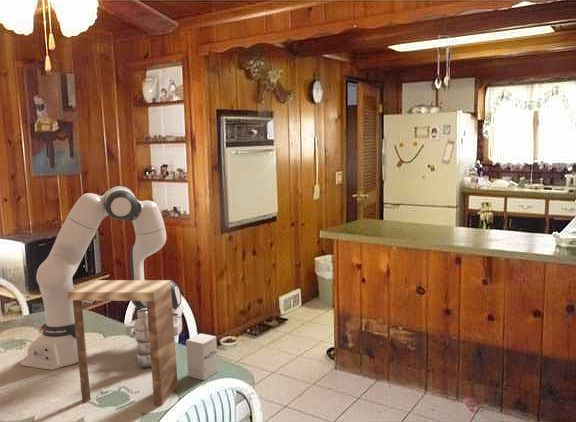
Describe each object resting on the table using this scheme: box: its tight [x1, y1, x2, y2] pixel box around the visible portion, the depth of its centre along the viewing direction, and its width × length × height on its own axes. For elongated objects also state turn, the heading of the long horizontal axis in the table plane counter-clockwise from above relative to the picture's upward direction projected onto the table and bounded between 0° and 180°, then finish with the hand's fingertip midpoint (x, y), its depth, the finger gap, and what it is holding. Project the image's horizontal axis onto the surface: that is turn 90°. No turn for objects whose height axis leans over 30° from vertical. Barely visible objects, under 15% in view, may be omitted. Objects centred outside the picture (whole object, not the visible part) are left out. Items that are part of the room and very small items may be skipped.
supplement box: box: [185, 333, 219, 381], centre depth 170 cm, size 7×7×13 cm
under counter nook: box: [67, 279, 179, 406], centre depth 157 cm, size 27×13×34 cm, turn 82°
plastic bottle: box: [134, 308, 151, 368], centre depth 178 cm, size 6×7×20 cm
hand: (144, 336), depth 178 cm, fingers open, 8 cm apart
